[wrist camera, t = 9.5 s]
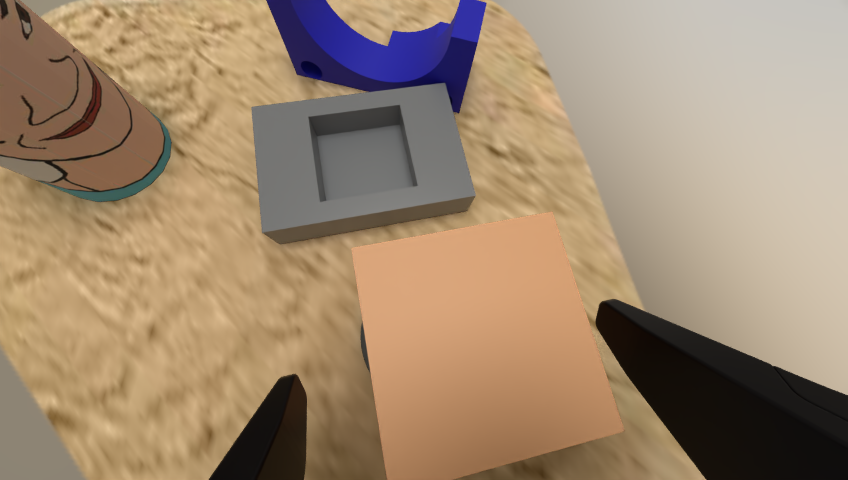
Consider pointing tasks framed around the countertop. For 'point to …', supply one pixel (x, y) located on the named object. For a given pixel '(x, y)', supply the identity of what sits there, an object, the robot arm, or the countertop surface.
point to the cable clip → (379, 49)
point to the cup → (71, 116)
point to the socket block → (358, 162)
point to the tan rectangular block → (479, 349)
